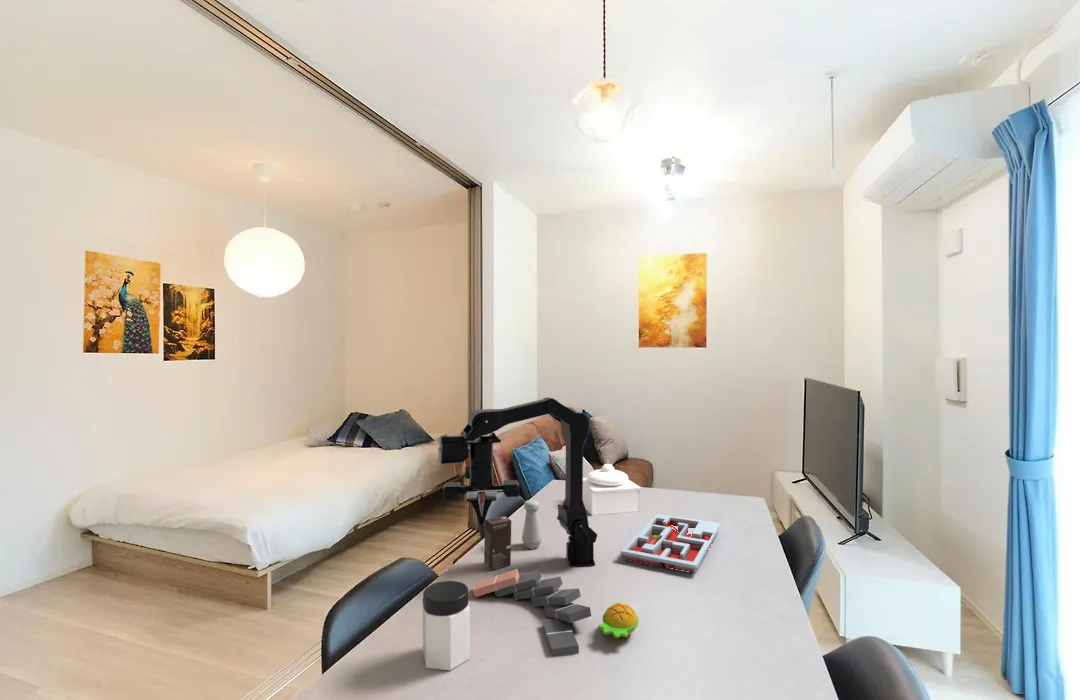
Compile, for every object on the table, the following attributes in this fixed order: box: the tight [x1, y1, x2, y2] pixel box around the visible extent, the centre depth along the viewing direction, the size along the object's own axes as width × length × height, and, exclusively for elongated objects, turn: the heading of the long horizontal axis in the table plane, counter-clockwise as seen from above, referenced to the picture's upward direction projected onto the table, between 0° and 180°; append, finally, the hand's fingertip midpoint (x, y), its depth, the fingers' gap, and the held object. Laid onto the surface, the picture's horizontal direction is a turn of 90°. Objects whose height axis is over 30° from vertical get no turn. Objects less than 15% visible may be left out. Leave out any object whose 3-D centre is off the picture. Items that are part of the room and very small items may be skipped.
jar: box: [422, 580, 471, 671], centre depth 90 cm, size 9×8×12 cm
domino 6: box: [541, 618, 580, 657], centre depth 95 cm, size 2×5×10 cm
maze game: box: [620, 513, 722, 573], centre depth 141 cm, size 35×20×3 cm, turn 151°
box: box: [483, 515, 512, 571], centre depth 129 cm, size 6×4×12 cm
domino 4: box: [530, 588, 582, 607], centre depth 107 cm, size 2×5×10 cm
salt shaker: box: [521, 499, 543, 550], centre depth 142 cm, size 6×6×13 cm
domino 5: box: [543, 602, 592, 624], centre depth 101 cm, size 2×5×10 cm
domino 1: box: [472, 568, 520, 598], centre depth 114 cm, size 2×5×10 cm
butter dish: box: [583, 463, 642, 517], centre depth 178 cm, size 18×18×16 cm
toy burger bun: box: [598, 602, 640, 639], centre depth 96 cm, size 7×10×5 cm
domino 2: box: [493, 570, 542, 598], centre depth 113 cm, size 2×5×10 cm
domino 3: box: [512, 576, 563, 601], centre depth 111 cm, size 2×5×10 cm
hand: (481, 524), depth 122 cm, fingers closed
